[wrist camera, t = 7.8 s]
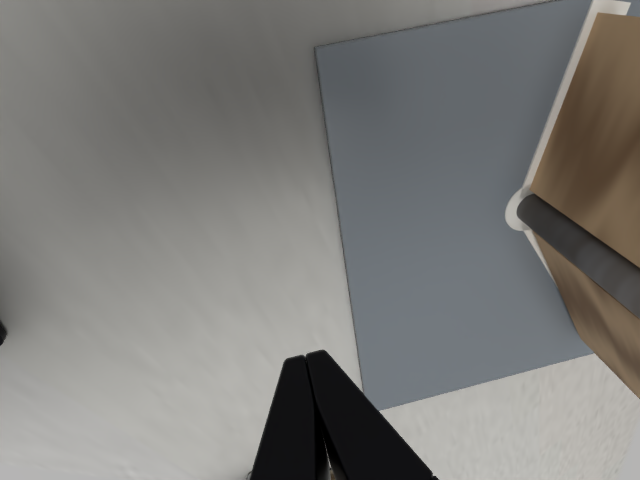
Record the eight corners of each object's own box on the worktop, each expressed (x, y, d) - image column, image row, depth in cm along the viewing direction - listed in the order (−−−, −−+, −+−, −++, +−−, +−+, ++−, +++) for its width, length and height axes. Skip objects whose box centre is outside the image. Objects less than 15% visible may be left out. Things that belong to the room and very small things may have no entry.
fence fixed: (506, 216, 23) (667, 354, 15) (583, 10, 18) (887, 43, 10) (533, 216, 24) (704, 351, 15) (614, 14, 19) (934, 50, 10)
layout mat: (365, 408, 30) (367, 415, 29) (314, 47, 17) (316, 49, 17) (608, 344, 31) (614, 349, 31) (725, -33, 19) (736, -33, 18)
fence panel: (530, 232, 23) (671, 349, 16) (551, 219, 23) (702, 332, 16) (579, 339, 29) (698, 462, 22) (595, 330, 29) (721, 450, 21)
